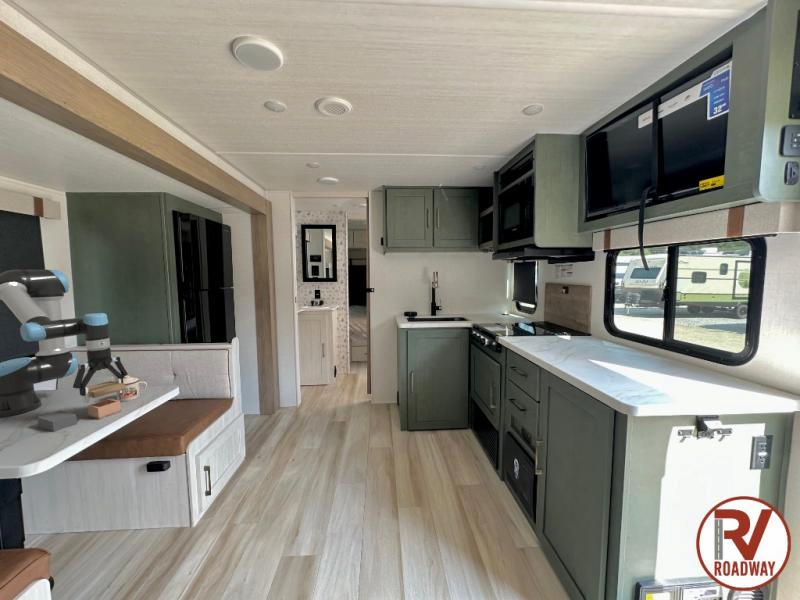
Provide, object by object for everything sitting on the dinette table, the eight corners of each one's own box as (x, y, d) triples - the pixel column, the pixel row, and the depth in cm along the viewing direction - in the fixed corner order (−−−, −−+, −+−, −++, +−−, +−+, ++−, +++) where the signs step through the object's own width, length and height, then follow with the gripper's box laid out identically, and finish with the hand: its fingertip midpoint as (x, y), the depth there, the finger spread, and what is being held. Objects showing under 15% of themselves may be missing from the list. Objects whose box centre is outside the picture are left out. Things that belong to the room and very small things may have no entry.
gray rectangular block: (38, 426, 130) (37, 417, 129) (61, 419, 136) (60, 410, 136) (53, 431, 125) (52, 421, 125) (77, 423, 132) (76, 414, 131)
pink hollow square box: (88, 416, 138) (87, 405, 138) (110, 409, 146) (109, 398, 145) (99, 419, 135) (97, 408, 135) (121, 411, 143) (120, 401, 142)
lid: (80, 394, 136) (79, 389, 136) (110, 386, 147) (110, 381, 146) (94, 398, 132) (94, 392, 132) (125, 389, 143) (124, 383, 142)
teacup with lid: (116, 403, 152) (114, 380, 151) (116, 398, 158) (114, 375, 157) (148, 397, 160) (146, 374, 159) (147, 392, 166) (145, 370, 165)
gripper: (67, 356, 126) (73, 409, 127) (134, 343, 147) (138, 389, 149) (57, 354, 128) (63, 406, 130) (124, 342, 150) (129, 387, 152)
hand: (103, 397), depth 140 cm, fingers closed on lid, 11 cm apart
